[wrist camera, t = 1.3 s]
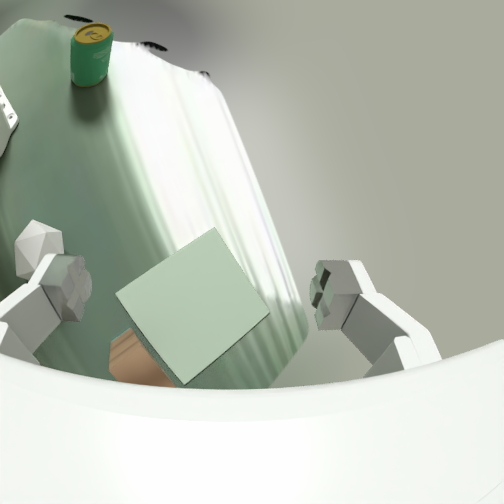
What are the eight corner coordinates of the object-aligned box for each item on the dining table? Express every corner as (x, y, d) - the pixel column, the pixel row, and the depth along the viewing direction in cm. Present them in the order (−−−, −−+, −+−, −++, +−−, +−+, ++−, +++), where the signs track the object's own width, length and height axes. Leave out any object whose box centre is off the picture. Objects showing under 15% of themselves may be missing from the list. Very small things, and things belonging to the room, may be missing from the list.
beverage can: (90, 58, 40) (95, 17, 29) (115, 72, 42) (123, 29, 32) (63, 79, 37) (62, 36, 26) (87, 94, 39) (90, 50, 29)
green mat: (115, 293, 38) (115, 293, 38) (214, 227, 48) (214, 227, 47) (183, 384, 40) (184, 384, 40) (269, 311, 50) (270, 311, 50)
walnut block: (111, 341, 36) (109, 370, 21) (130, 327, 38) (141, 345, 23) (139, 377, 37) (157, 423, 22) (158, 362, 39) (187, 400, 24)
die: (13, 253, 31) (3, 288, 24) (28, 204, 30) (16, 229, 23) (55, 269, 37) (54, 305, 30) (72, 223, 36) (72, 252, 29)
